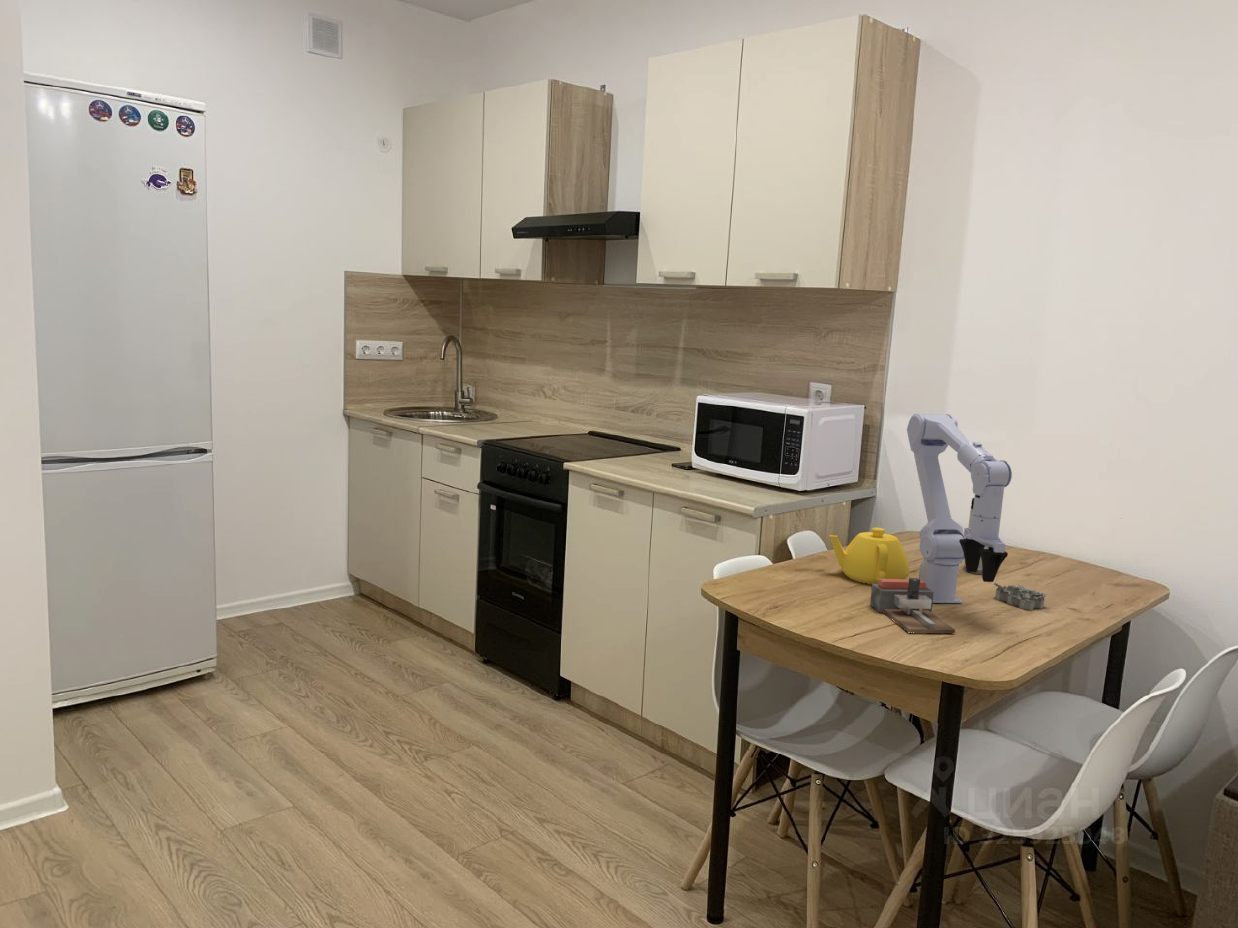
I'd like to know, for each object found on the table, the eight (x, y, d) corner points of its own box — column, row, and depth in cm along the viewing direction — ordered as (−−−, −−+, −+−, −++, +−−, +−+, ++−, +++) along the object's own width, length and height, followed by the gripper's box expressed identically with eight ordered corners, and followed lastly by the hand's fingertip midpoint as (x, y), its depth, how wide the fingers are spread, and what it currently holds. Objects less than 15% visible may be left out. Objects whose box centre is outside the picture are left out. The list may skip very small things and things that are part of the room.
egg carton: (989, 598, 225) (991, 581, 224) (1013, 596, 228) (1015, 579, 227) (1025, 611, 215) (1027, 594, 214) (1049, 609, 218) (1051, 592, 217)
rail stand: (870, 605, 213) (872, 583, 212) (920, 605, 215) (923, 584, 214) (903, 633, 195) (906, 610, 194) (959, 634, 196) (961, 611, 195)
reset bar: (878, 585, 211) (878, 578, 211) (920, 585, 213) (921, 579, 212) (882, 588, 209) (882, 581, 209) (925, 589, 210) (926, 582, 210)
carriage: (892, 608, 207) (895, 576, 206) (923, 609, 207) (926, 577, 206) (899, 614, 203) (902, 581, 202) (930, 614, 204) (933, 581, 203)
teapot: (901, 571, 244) (905, 523, 242) (916, 592, 226) (921, 540, 224) (822, 565, 246) (826, 518, 244) (831, 585, 228) (835, 534, 226)
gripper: (953, 508, 211) (947, 567, 213) (985, 522, 196) (977, 585, 199) (983, 509, 211) (977, 567, 214) (1017, 523, 197) (1009, 586, 199)
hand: (979, 576), depth 206 cm, fingers open, 7 cm apart
